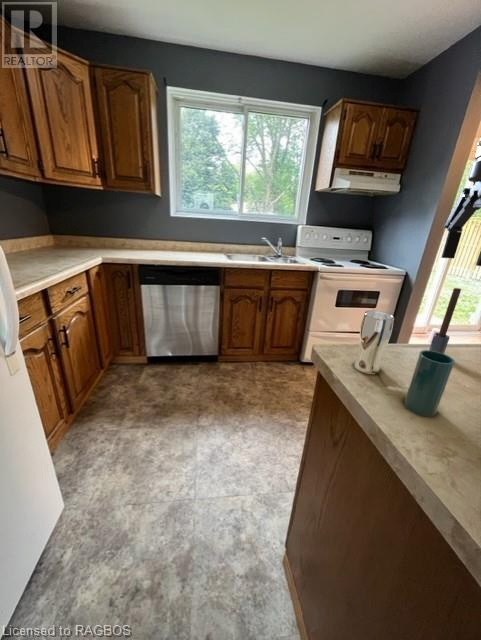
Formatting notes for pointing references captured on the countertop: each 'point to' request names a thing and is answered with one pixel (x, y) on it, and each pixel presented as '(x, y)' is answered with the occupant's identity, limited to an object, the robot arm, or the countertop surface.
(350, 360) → the countertop surface
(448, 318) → the brown stick
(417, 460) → the countertop surface
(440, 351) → the grey cylinder
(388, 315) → the beer glass
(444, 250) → the robot arm
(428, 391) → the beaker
